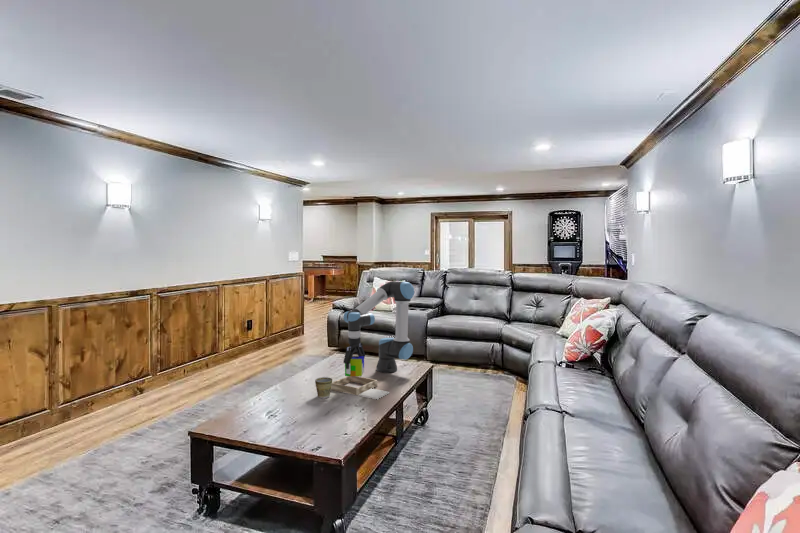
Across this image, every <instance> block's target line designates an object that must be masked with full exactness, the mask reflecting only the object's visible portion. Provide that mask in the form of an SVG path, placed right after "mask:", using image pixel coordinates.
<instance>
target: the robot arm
mask: <svg viewBox="0 0 800 533" xmlns="http://www.w3.org/2000/svg"><path fill="white" fill-rule="evenodd" d="M414 295H415V288H414V286H413V285H412V282H411V283H410V282H408V281H397V280H393V281H392V280H391V281H387V282H386V283H384V284H383V285H381V286H380V287H378V288H377V290H376V292H374V293H373V294H371V295H370V296H369V297H368V298H367V299H365V300H364V301H363V302H362V303H360V304H359V305H358V306H356V307H355V308H353V309H352V310H351V311H348V310H347V311H345V312H344V314H343V316H342V318H343V321H344V322H345V323H347V325H348V326H347V327H348V328H347V329H348V331H347V334H348V336H347V337H348V341H347V342H348V344H349V346H346V348H345V354H344V358H343V362H342V363H343V364H345V363H346V374H351V373H350V361H351V358H352V356H354V354H355V353H356V354H357V356H364V359H366V353H365V350H364V347H363V343H362V342H361V328H362V327H368V326H371V325H374V323H375V321H376V319H375V318H376V316H375V315H374V313H371V312H370V311H372V310H373V309H374V308H375V307H377V305H379V304H380V303H381V302H383V301H386V300H387V299H390V298H393V301H394V303H395V337H384V338H380V339H379V341H378V360H377V364H376V368H375V369H376V370H375V371H377V372H378V373H386V374H387V373H388V374H389V373H394V372H397V371H398V365H397V361H396V359H399V360H406V361H407V360H408V359H409V358H410V357H411V356H413V353H414V347H413V344H412V343H411V340H410V338H409V337H408V336H409V334H408V333H409V332H408V331H409V303H411V299H413V298H414ZM369 312H370V313H369Z"/></svg>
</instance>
